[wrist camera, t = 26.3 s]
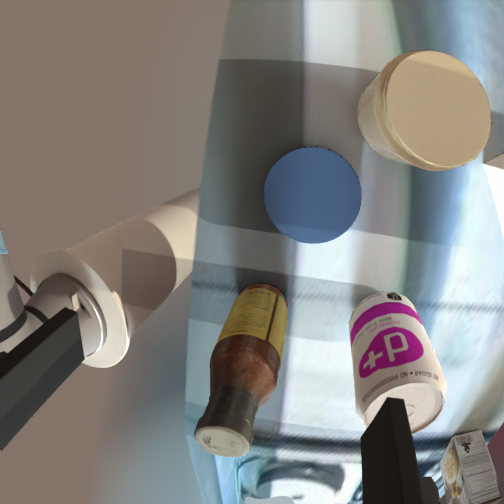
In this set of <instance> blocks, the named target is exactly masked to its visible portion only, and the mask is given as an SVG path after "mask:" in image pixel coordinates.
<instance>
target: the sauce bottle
mask: <svg viewBox="0 0 504 504" xmlns="http://www.w3.org/2000/svg"><path fill="white" fill-rule="evenodd" d="M287 318H288V304H287V302H286V300H285V298H284V296H283V295H282V293H281V292H280V291H279V290H278V289H277V288H275V287H273V286H271V285H268V284H261V283H259V284H253V285H250V286H248V287H246V288H245V289H244V290H243V291H241V292H240V294H239V296H238V297H237V298H236V300H235V302H234V304H233V306H232V308H231V311H230V313H229V315H228V318H227V320H226V322H225V325H224V327H223V329H222V331H221V334H220V336H219V338H218V340H217V343H216V345H215V347H214V350H213V352H212V355H211V360H210V397H209V403H208V405H207V407H206V410H205V413H204V415H203V416H202V417H201V418H200V419H199V420H198V423H197V426H196V429H195V432H194V436H195V439H196V441H197V442H198V443H199V445H200V446H201V447H202V448H203V449H205V450H206V451H208V452H210V453H212V454H215V455H219V456H223V457H240V456H243V455H245V454H246V453H247V452H248V451H249V450H250V448H251V444H252V441H253V436H254V435H253V431H252V428H253V423H254V420H255V415H256V414H257V412H258V408H259V407H261V406H262V405H263V404H265V403H266V402H267V401H268V400H269V398H270V396H271V394H272V393H273V391H274V389H275V387H276V384H277V378H278V371H279V369H280V365H281V359H282V353H283V346H284V340H285V332H286V325H287Z"/></svg>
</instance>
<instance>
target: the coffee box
mask: <svg viewBox="0 0 504 504" xmlns="http://www.w3.org/2000/svg"><path fill="white" fill-rule="evenodd" d="M440 468H441V473H442V478H443V483H444V488H445V494H446V500H447V504H497V503H498V502H499V501H500V500H501V499H502V494H501V490H500V487H499V483H498V479H497V476H496V473H495V469H494V466H493V463H492V460H491V457H490V454H489V451H488V448H487V445H486V442H485V440H484V437H483V434H482V431H481V430H477V431H473V432H469V433H465V434H461V435H456V436H453V437H452V438H451V440H450V442H449V445H448V447H447V449H446V451H445V453H444V455H443V457H442V459H441V461H440Z"/></svg>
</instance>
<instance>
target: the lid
mask: <svg viewBox="0 0 504 504" xmlns="http://www.w3.org/2000/svg"><path fill="white" fill-rule="evenodd" d="M264 204H265V208H266V211H267V213H268V216H269V217H270V219H271V221H272V222H273V224H274V225H275V226H276V227H277V228H278V229H279V230H280V231H281V232H282V233H283V234H285V235H286V236H288V237H289V238H291V239H294V240H296V241H299V242H303V243H309V244H317V243H324V242H328V241H331V240H333V239H335V238H337V237H339V236H341V235H342V234H343V233H345V232H346V231H347V230H348V229H349V228H350V227H351V225H352V224H353V222H354V221H355V219H356V217H357V215H358V213H359V210H360V205H361V187H360V183H359V180H358V176H357V175H356V173H355V171H354V170H353V168H352V167H351V165H350V164H349V163H348V162H347V161H346V160H344V159H343V158H342V156H341V155H340V156H339V155H338V154H336V153H334V152H332V151H330V149H329V150H328V149H325V148H320V147H318V146H317V147H303V148H299V149H296V150H291V152H289V153H287V154H285V155H284V156H282V157H280V159H279V160H278V161H277V162H276V163H275V164H274V166H272V168H271V170H270V172H269V173H268V176H267V177H266V181H265V185H264Z"/></svg>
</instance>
